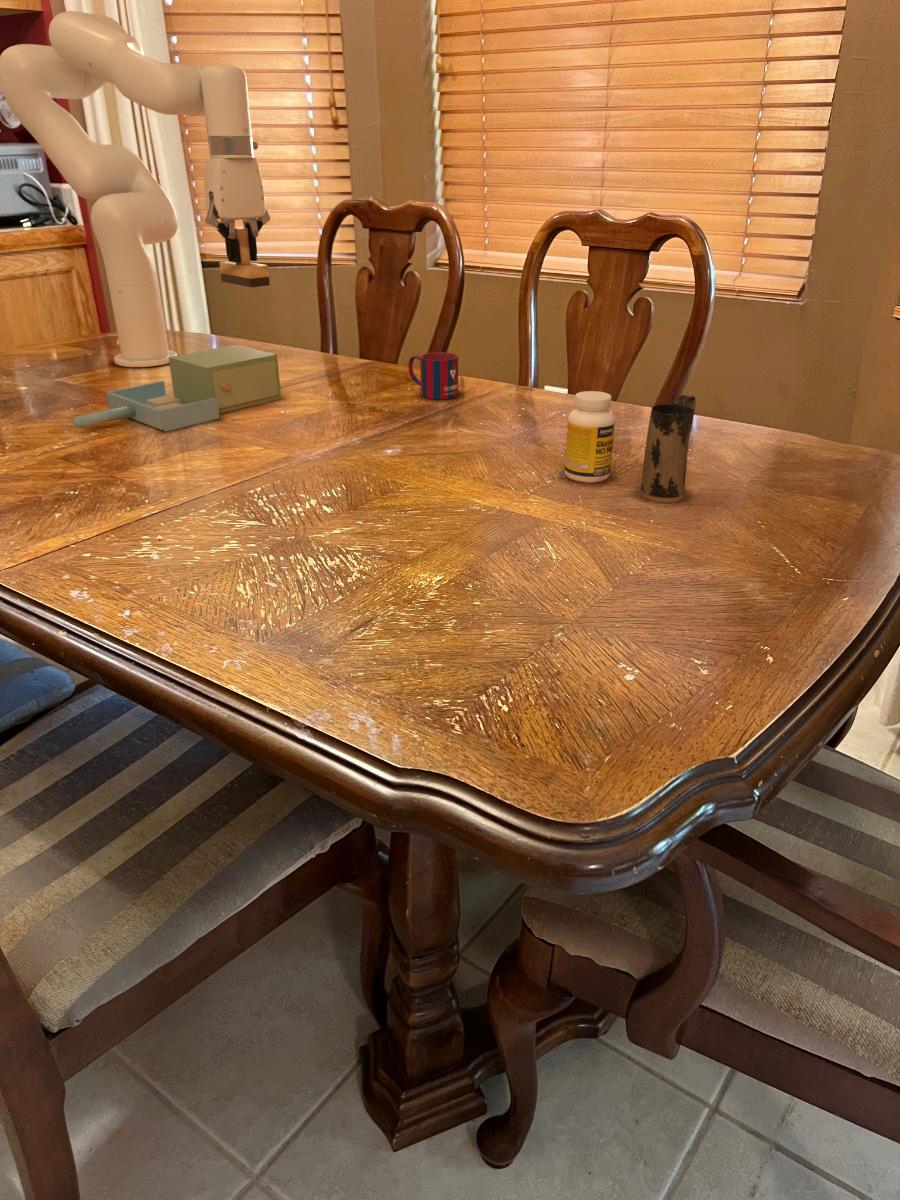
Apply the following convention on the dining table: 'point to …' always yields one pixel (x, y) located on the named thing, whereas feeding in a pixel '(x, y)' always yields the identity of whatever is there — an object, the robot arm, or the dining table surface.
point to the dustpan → (150, 409)
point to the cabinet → (226, 377)
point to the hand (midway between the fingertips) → (242, 260)
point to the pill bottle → (590, 438)
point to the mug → (667, 450)
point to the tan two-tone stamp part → (244, 266)
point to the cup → (437, 375)
